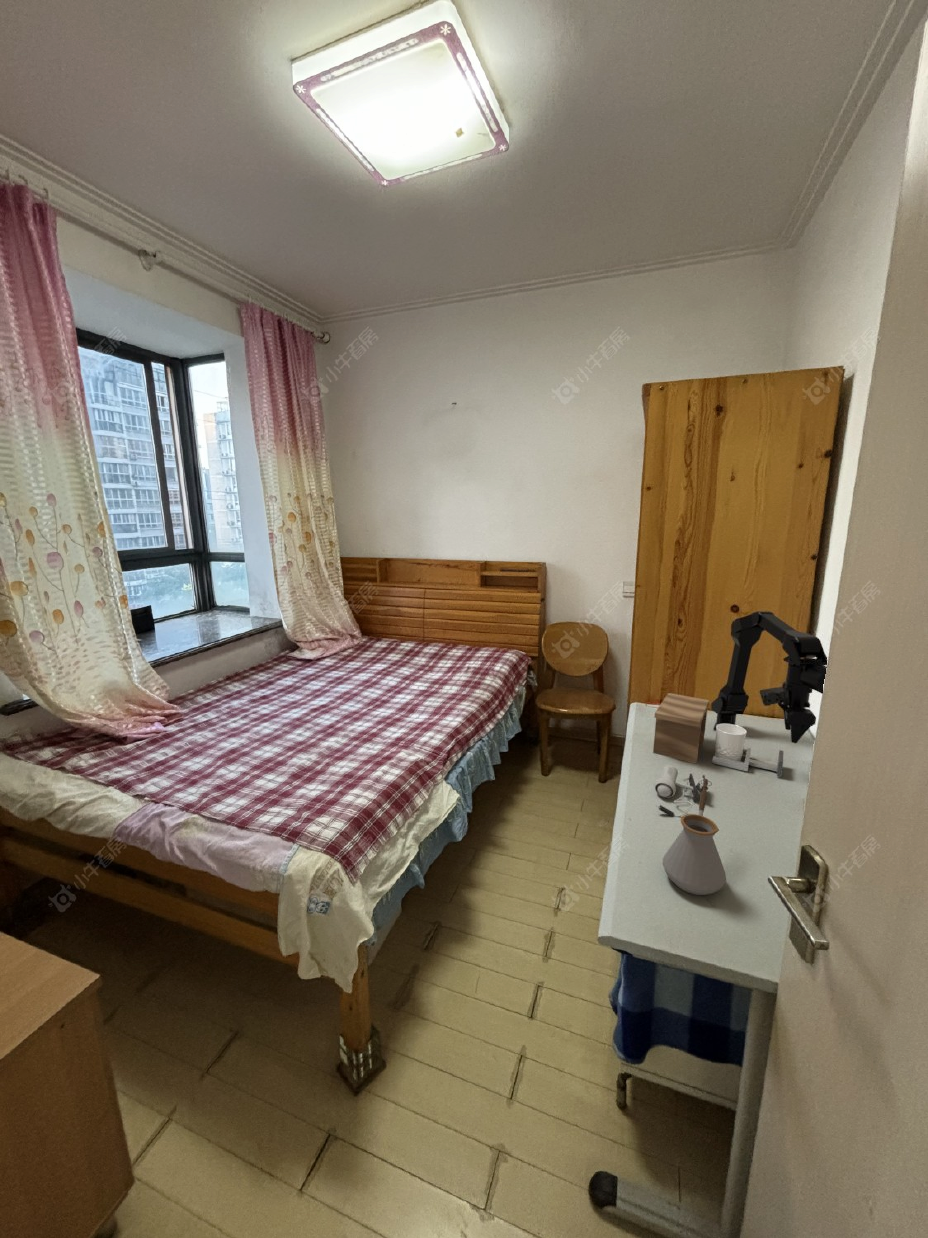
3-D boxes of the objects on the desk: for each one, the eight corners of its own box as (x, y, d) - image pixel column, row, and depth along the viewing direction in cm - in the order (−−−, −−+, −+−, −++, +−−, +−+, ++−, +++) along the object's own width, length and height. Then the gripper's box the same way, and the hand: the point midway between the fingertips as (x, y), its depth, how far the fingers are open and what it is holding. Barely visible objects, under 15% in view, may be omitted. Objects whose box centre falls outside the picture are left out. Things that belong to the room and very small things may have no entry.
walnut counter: (664, 732, 167) (668, 692, 164) (704, 741, 161) (709, 700, 158) (650, 756, 151) (654, 712, 148) (694, 767, 144) (699, 722, 141)
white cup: (735, 754, 152) (739, 724, 150) (747, 767, 144) (751, 735, 142) (708, 753, 153) (712, 722, 151) (718, 766, 145) (722, 734, 143)
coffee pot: (722, 912, 92) (732, 839, 89) (656, 888, 97) (663, 820, 94) (728, 846, 110) (736, 784, 107) (672, 830, 115) (678, 770, 112)
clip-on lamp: (695, 835, 118) (706, 787, 132) (700, 816, 116) (711, 768, 129) (644, 816, 124) (660, 771, 138) (648, 797, 121) (663, 753, 135)
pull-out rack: (716, 748, 155) (718, 735, 154) (781, 763, 146) (783, 749, 145) (712, 762, 146) (714, 748, 145) (780, 779, 137) (783, 764, 136)
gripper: (759, 668, 146) (753, 719, 149) (768, 688, 129) (761, 744, 132) (804, 673, 141) (797, 725, 145) (820, 694, 125) (811, 752, 128)
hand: (790, 736), depth 137 cm, fingers open, 9 cm apart
